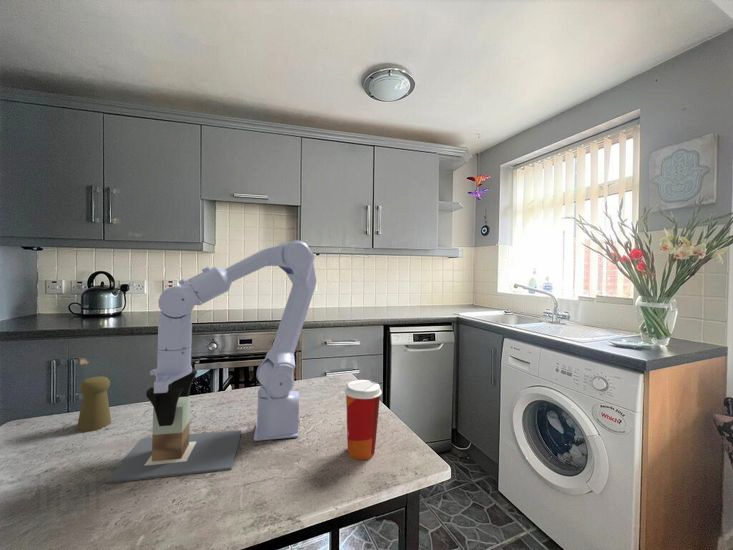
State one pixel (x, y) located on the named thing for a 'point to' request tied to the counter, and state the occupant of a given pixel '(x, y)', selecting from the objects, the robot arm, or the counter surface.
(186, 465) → the mat
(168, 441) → the walnut block
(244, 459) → the counter surface
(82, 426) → the cork
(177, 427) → the sage block
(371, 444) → the paper cup
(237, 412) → the counter surface
